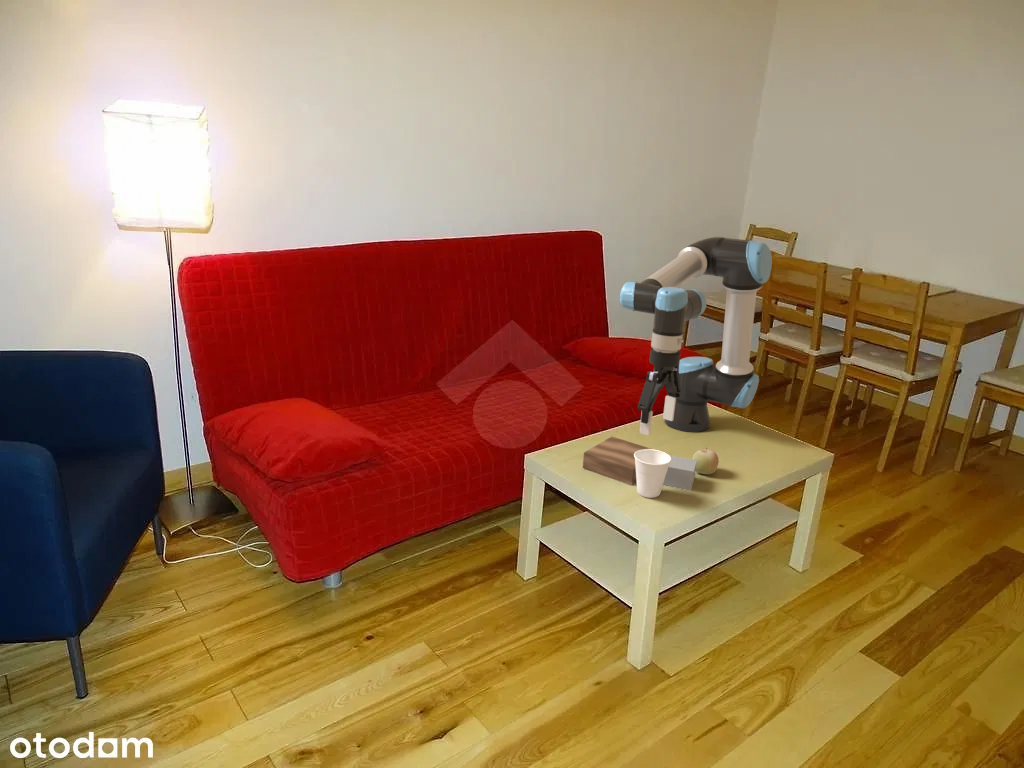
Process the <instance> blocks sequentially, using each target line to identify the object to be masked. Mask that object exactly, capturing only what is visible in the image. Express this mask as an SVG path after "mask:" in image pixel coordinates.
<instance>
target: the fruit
mask: <svg viewBox="0 0 1024 768" xmlns="http://www.w3.org/2000/svg"><path fill="white" fill-rule="evenodd" d="M691 459H693V460H697V465H696V472H695V473H698V474H703V475H711V474H713V473H715V472H716V470H717V468H718V466H719V456H718V454H717V453H716V452H715V451H713V450H711V449H708V448H707V447H705V449H699V450H697V451H695V452H694V454H693V456H692V458H691Z"/></svg>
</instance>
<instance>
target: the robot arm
mask: <svg viewBox="0 0 1024 768" xmlns="http://www.w3.org/2000/svg"><path fill="white" fill-rule="evenodd" d="M772 259H773V258H772V252H771V249H770V247H769V245H768V244H767V243H764V242H761V241H755V240H753V239H752V240H751V239H750V240H748V239H739V238H730V237H729V238H728V237H721V236H713V237H708V238H703V239H700V240H698V241H695V242H693V243H690V244H689V245H687V246H685V247H684V248H683V249H681V250H680V251H679V253H678V255H677V257H675V258H674V259H672V260H671V261H670V262H668V263H667V264H665V265H664V266H662V267H661V268H660V269H658V270H656V271H655V272H654V273H652V274H651V275H649V276H648V277H646V278H645V279H643V280H642V281H641V282H637V281H627V282H625V283H624V284H623V286H622V287H621V289H620V294H619V302H620V305H621V307H622V308H624V309H626V310H631V311H633V312H639V313H646V314H651V315H654V317H653V318H654V319H653V327H652V335H651V340H650V342H651V343H650V346H651V349H650V350H649V351H650V353H649V363H650V364H651V365H653V371H647V373H646V377H645V382H644V386H643V388H642V391H641V394H640V395H641V396H640V397H639V402H638V403H637V407H636V408H637V410H639V411H641V413H640V414H641V415H640V423H639V431H638V433H639V434H641V435H646V436H650V435H651V430H652V429H651V428H652V421H653V412H654V411H653V407H654V405H655V402H656V400H657V398H658V395H659V393H660V390H662V389H663V388H665V391H666V395H665V398H664V407H663V415H662V419H663V421H664V423H665V425H666V426H668V427H670V428H672V429H675V430H677V431H682V432H683V431H684V432H689V433H690V432H691V433H695V432H697V433H699V432H704V431H706V430H708V429H709V428H710V424H711V418H710V414H709V413H710V411H709V407H708V401H710V402H714V403H719V404H722V405H726V406H730V407H732V408H734V407H735V408H739V409H745V408H746V407H748V406H749V405H750V404H751V402H752V401H753V399H754V397H755V395H756V393H757V390H758V386H759V383H760V378H759V377H760V376H759V375H758V374H757V373H754V365H753V364H752V363H751V362H750V359H751V358H750V357H751V349H752V347H751V346H752V339H753V328H754V318H755V309H756V300H757V299H756V298H757V292H758V291H759V290H761V289H762V287H763V284H766V283H767V282H768V280H770V276H771V271H772V266H773V260H772ZM702 275H704V276H705V275H706V276H714V277H720V278H722V281H721V283H722V284H721V285H722V287H723V288H725V290H726V298H725V309H724V321H723V322H724V323H723V333H722V335H723V336H722V347H721V356H720V357H721V359H720V360H719V361H717V363H715V365H714V360H713V359H712V358H710V357H706V356H687V357H684V358H683V357H682V358H681V355H682V353H681V351H680V350H681V349H682V344H683V343H684V339H683V336H684V327H685V322H688V321H691V320H694V319H696V318H698V317H699V316H700V315H702V314H704V312H705V310H706V309H707V299H706V296H705V295H704V293H703V292H702V291H701V290H698V289H694V288H693V289H690V288H689V289H684V288H682V286H683V285H684V284H686V283H687V282H689V281H691V279H695V278H699V277H701V276H702Z"/></svg>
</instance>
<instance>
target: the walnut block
mask: <svg viewBox="0 0 1024 768" xmlns="http://www.w3.org/2000/svg"><path fill="white" fill-rule="evenodd" d="M642 449H652V448H650V447H647V446H644V445H641V444H638V443H634V442H630V441H629V440H624V439H623V438H622V439H621V438H617V437H615V436H610V437H609V438H606V439H604V440H603V441H601V442H600V443H598V444H596V445H595V446H592V447H591V448H590V449H588V450H586V451H584V452H583V461H582V469H583V468H584V470H586V469H587V471H589V472H592V473H595V474H598V475H600V476H604V477H607V478H608V479H609V478H610V479H613V480H615V481H618V482H621V483H624V484H627V485H628V486H629V485H630V486H633V485H634V484H635V483H637V480H636V467H635V457H634V453H635V452H636V451H639V450H642Z"/></svg>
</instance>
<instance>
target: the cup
mask: <svg viewBox="0 0 1024 768" xmlns="http://www.w3.org/2000/svg"><path fill="white" fill-rule="evenodd" d="M669 455H670V454H668V453H666V452H664V451H662V450H658V449H653V448H651V449H642V450H639V451H636V452H635V453H634V457H635V467H636V480H637V482H636V491H637V493H638V495H639V496H641V497H644V498H648V499H655V498H657V497H659V496H660V495H661V492H662V489H663V486H664V485H663V482H664V479H665V476H666V473H667V470H668V467H669V463H670V462H671V457H670V456H669Z"/></svg>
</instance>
